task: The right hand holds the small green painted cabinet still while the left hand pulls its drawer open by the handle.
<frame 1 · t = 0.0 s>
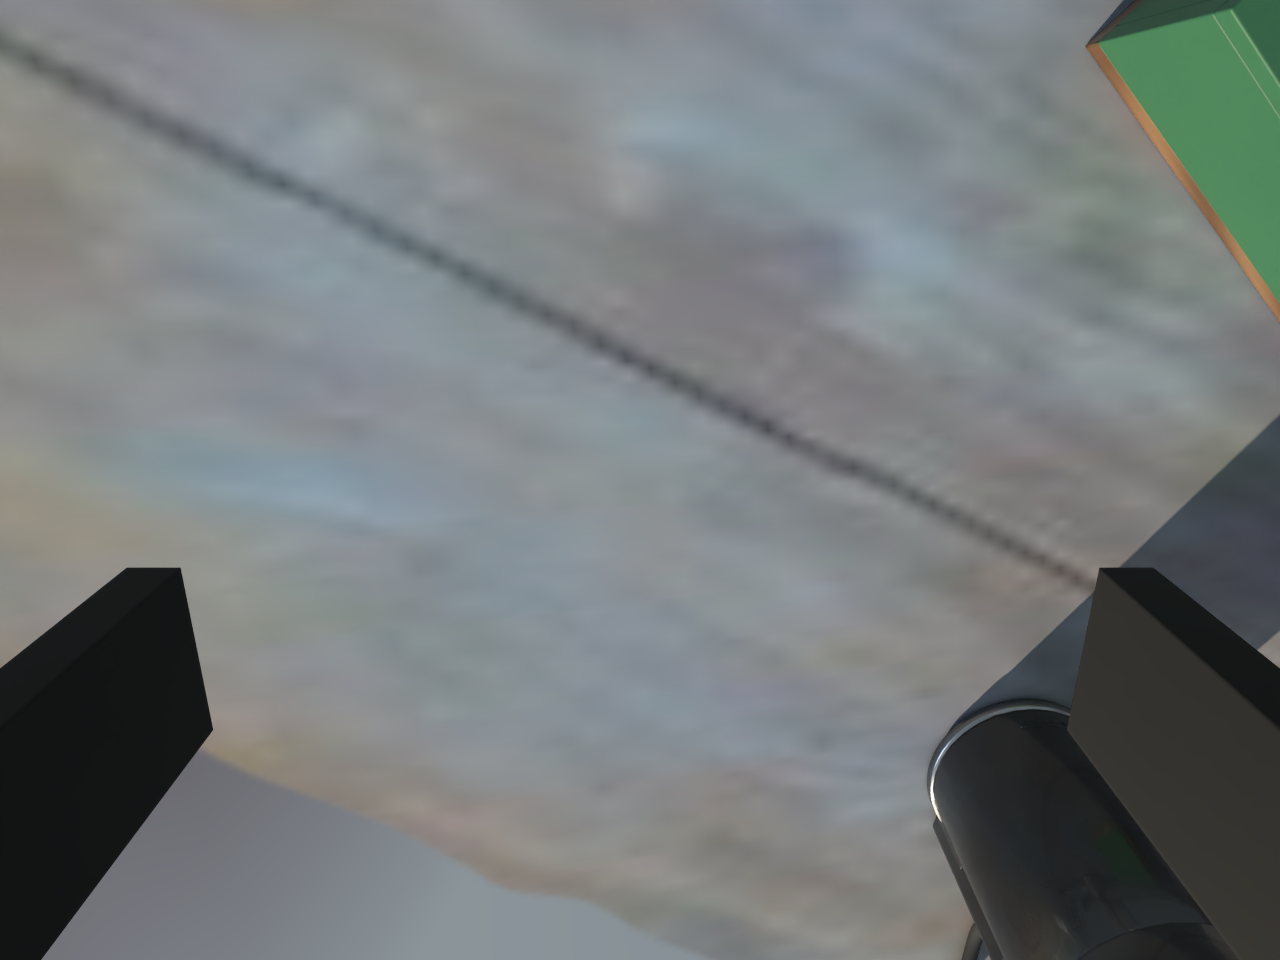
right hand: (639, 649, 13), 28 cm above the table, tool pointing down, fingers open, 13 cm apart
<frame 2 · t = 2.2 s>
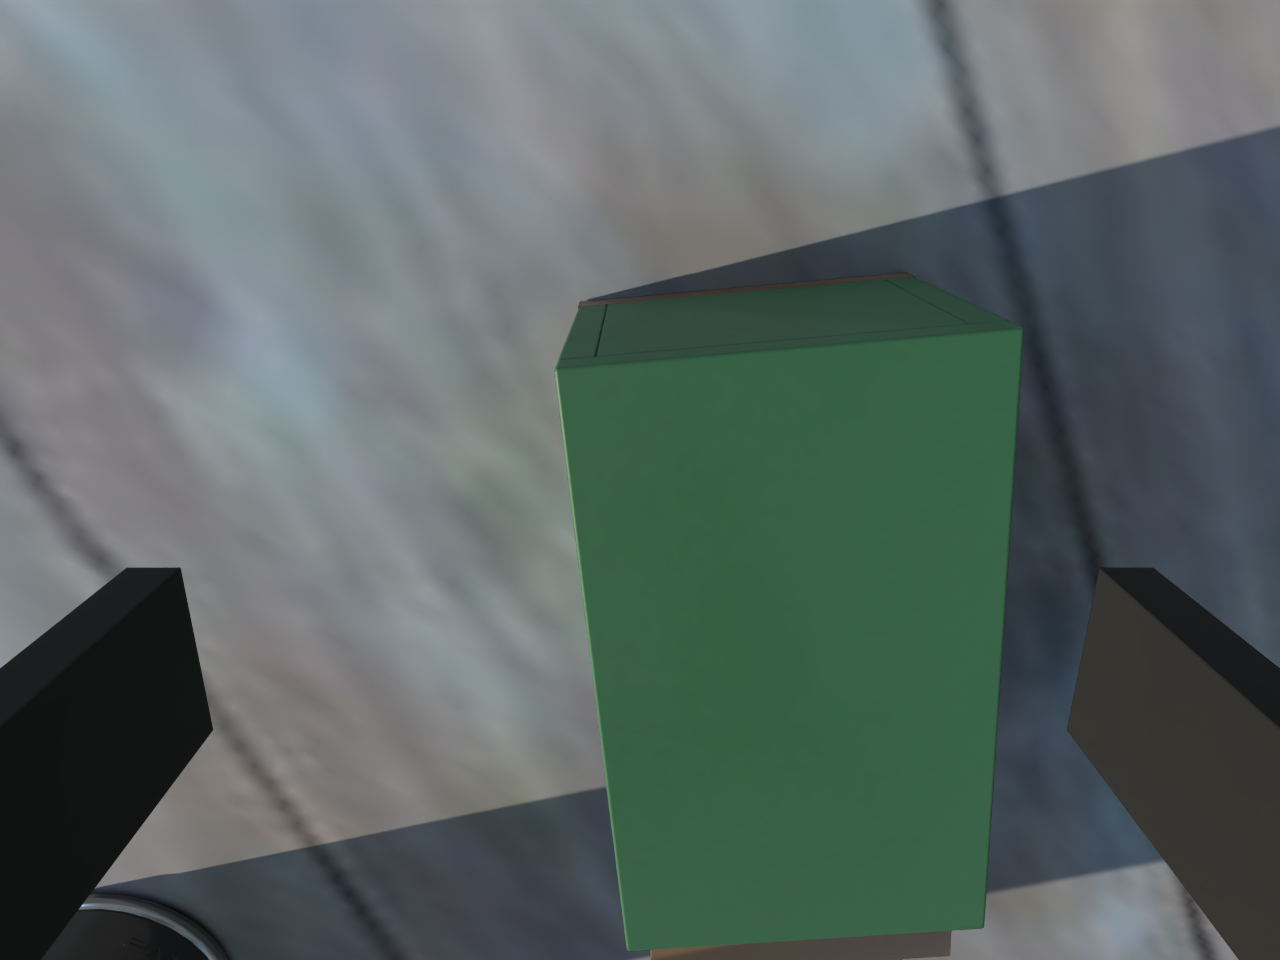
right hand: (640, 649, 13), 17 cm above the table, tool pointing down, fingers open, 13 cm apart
drawer: (778, 752, 29), point 5 cm above the table, slide at 0.9 cm
cabinet: (753, 536, 31), on the table
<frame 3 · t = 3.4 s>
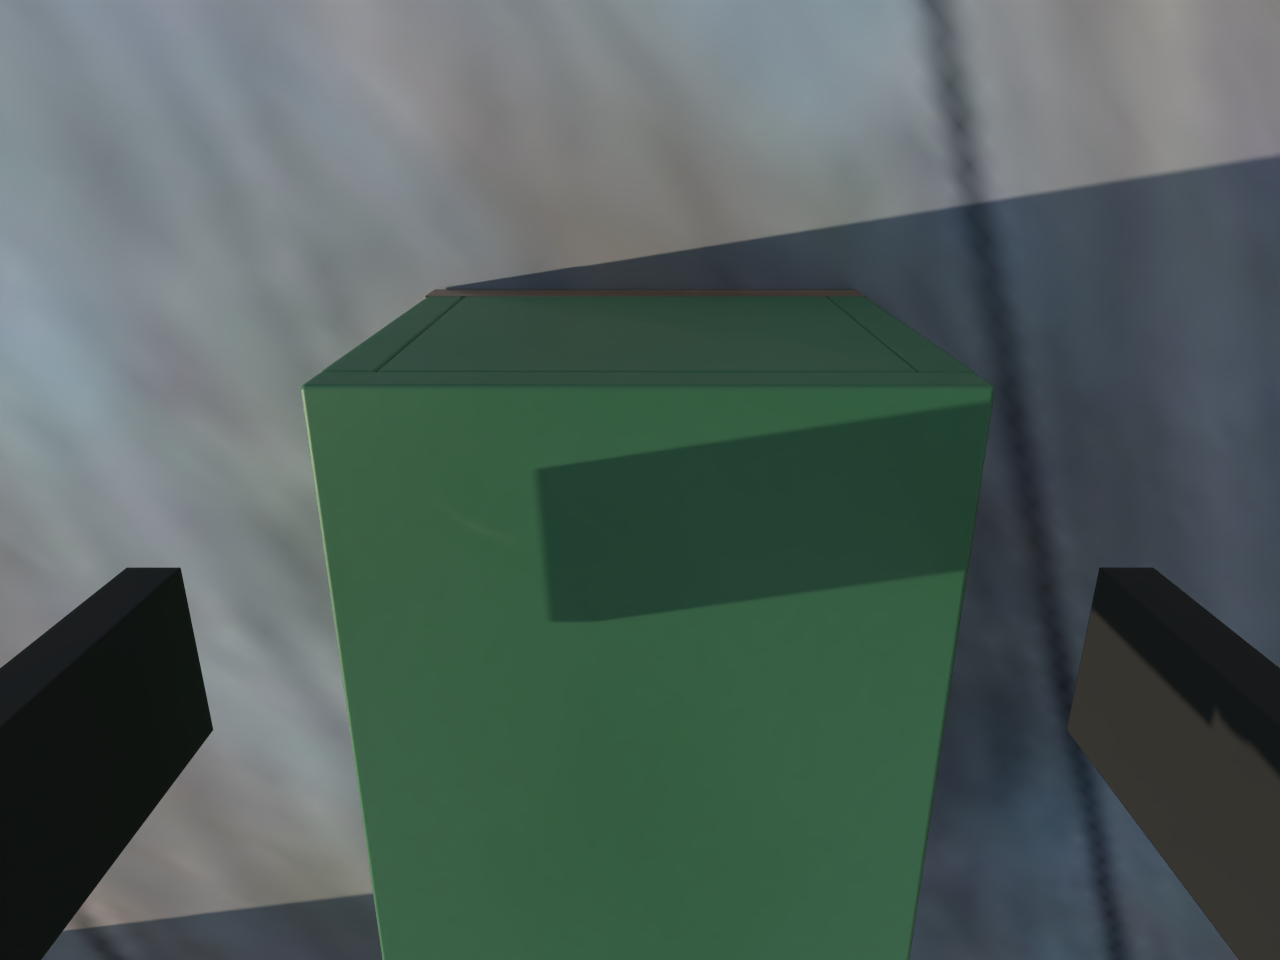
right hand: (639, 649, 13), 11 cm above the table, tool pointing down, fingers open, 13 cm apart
cabinet: (644, 603, 25), on the table
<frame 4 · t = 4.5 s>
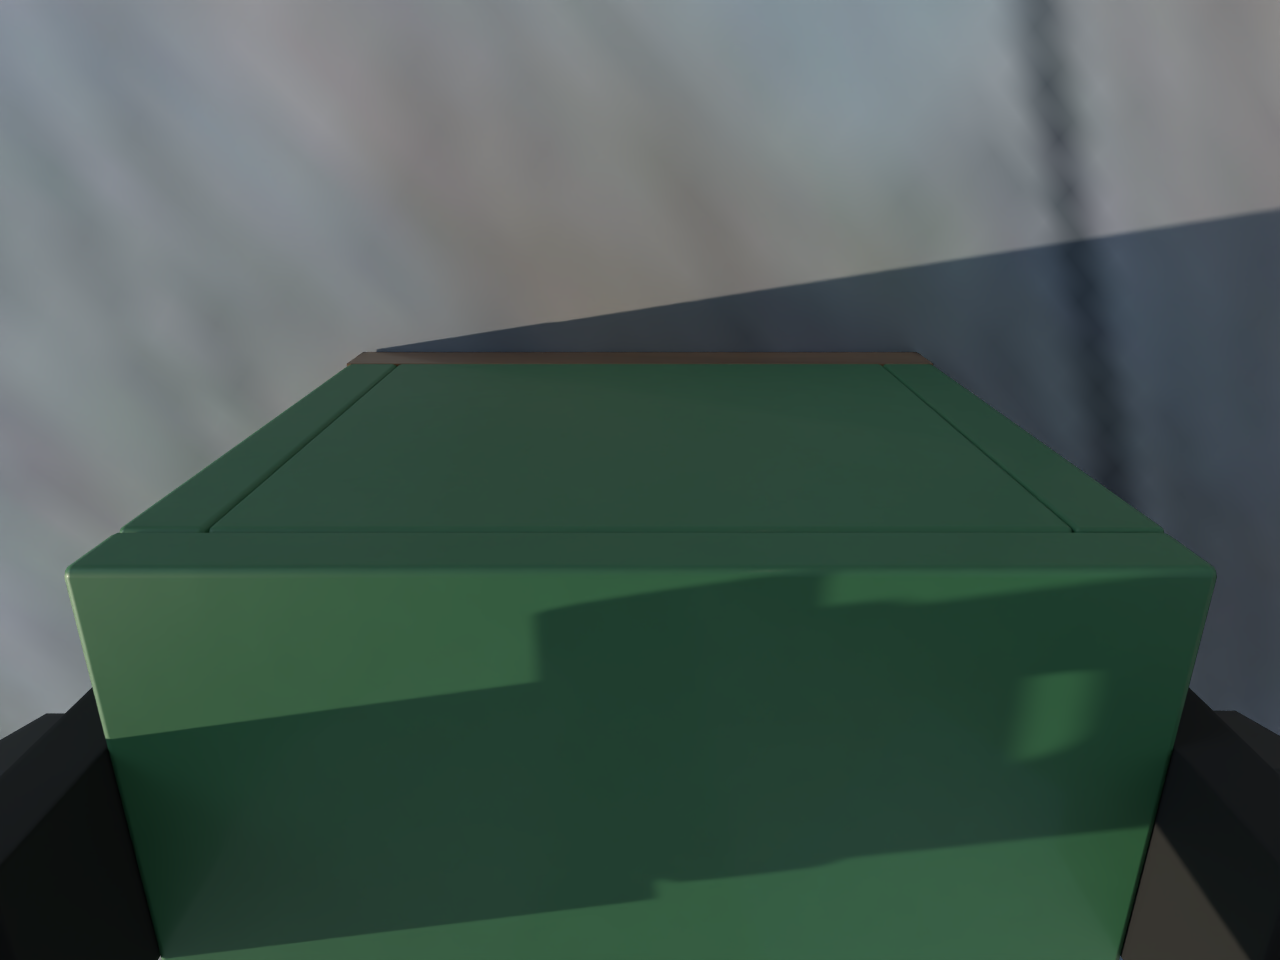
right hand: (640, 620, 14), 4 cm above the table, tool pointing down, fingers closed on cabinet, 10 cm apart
cabinet: (639, 740, 19), on the table, touching right hand
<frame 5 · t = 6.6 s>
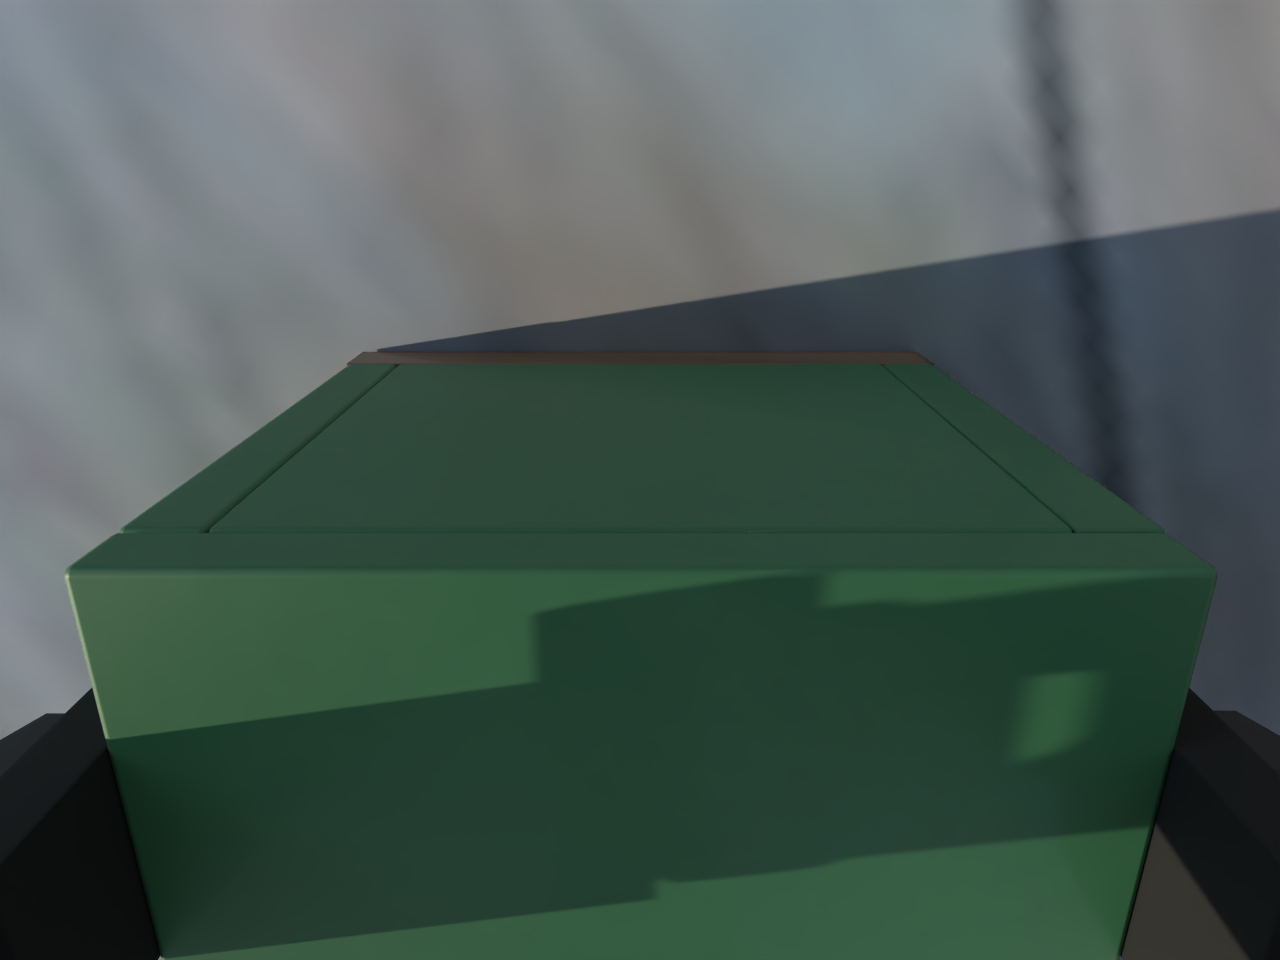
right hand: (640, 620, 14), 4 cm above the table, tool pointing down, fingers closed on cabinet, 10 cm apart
cabinet: (640, 740, 19), on the table, touching right hand
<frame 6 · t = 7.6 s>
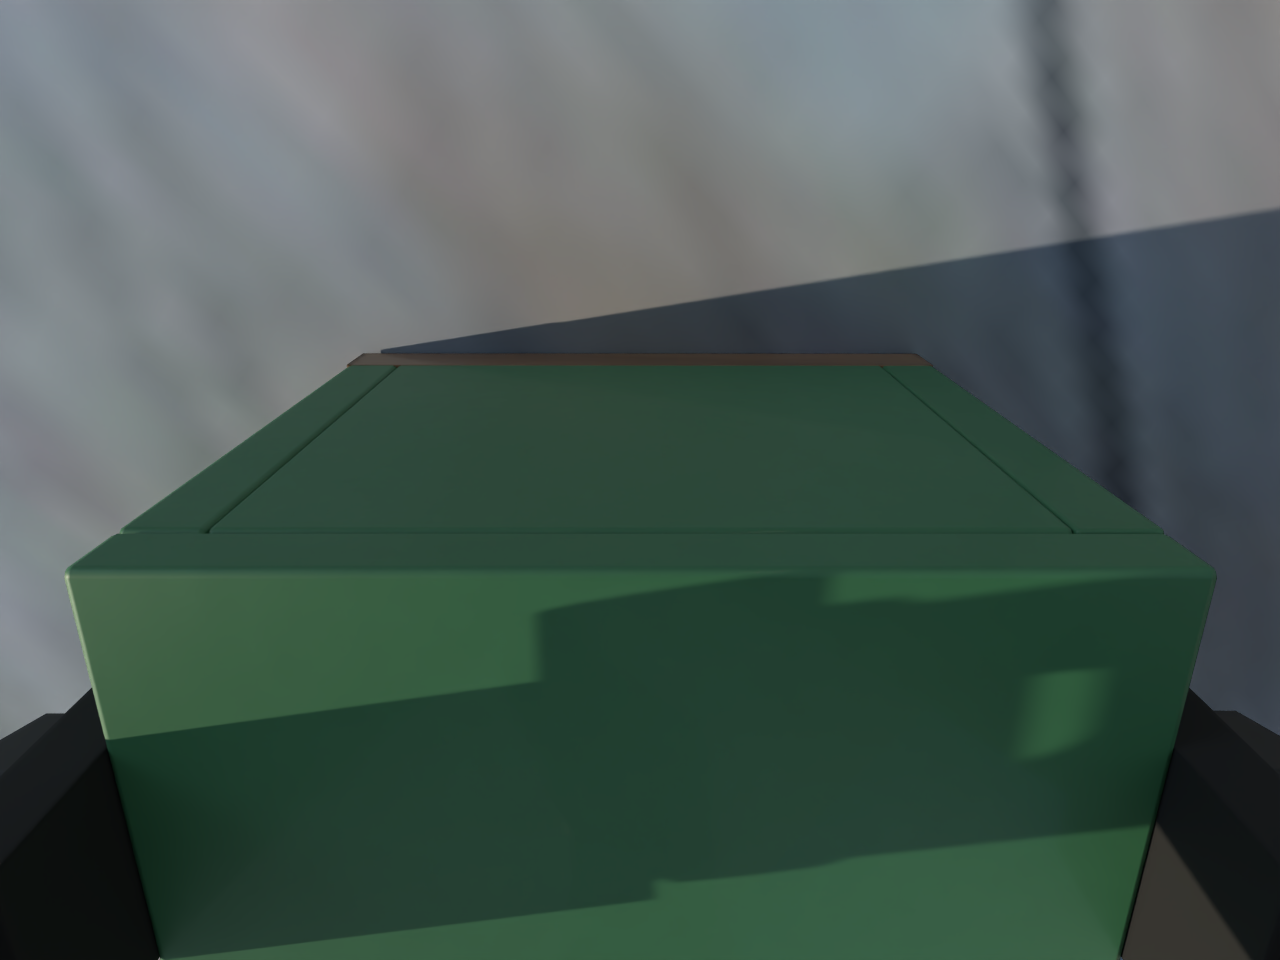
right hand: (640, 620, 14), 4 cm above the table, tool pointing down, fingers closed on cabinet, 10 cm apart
cabinet: (639, 742, 19), on the table, touching right hand
when the right hand's fingers open (4 cm above the table, at t = 9.1 s): cabinet stays where it is, on the table.
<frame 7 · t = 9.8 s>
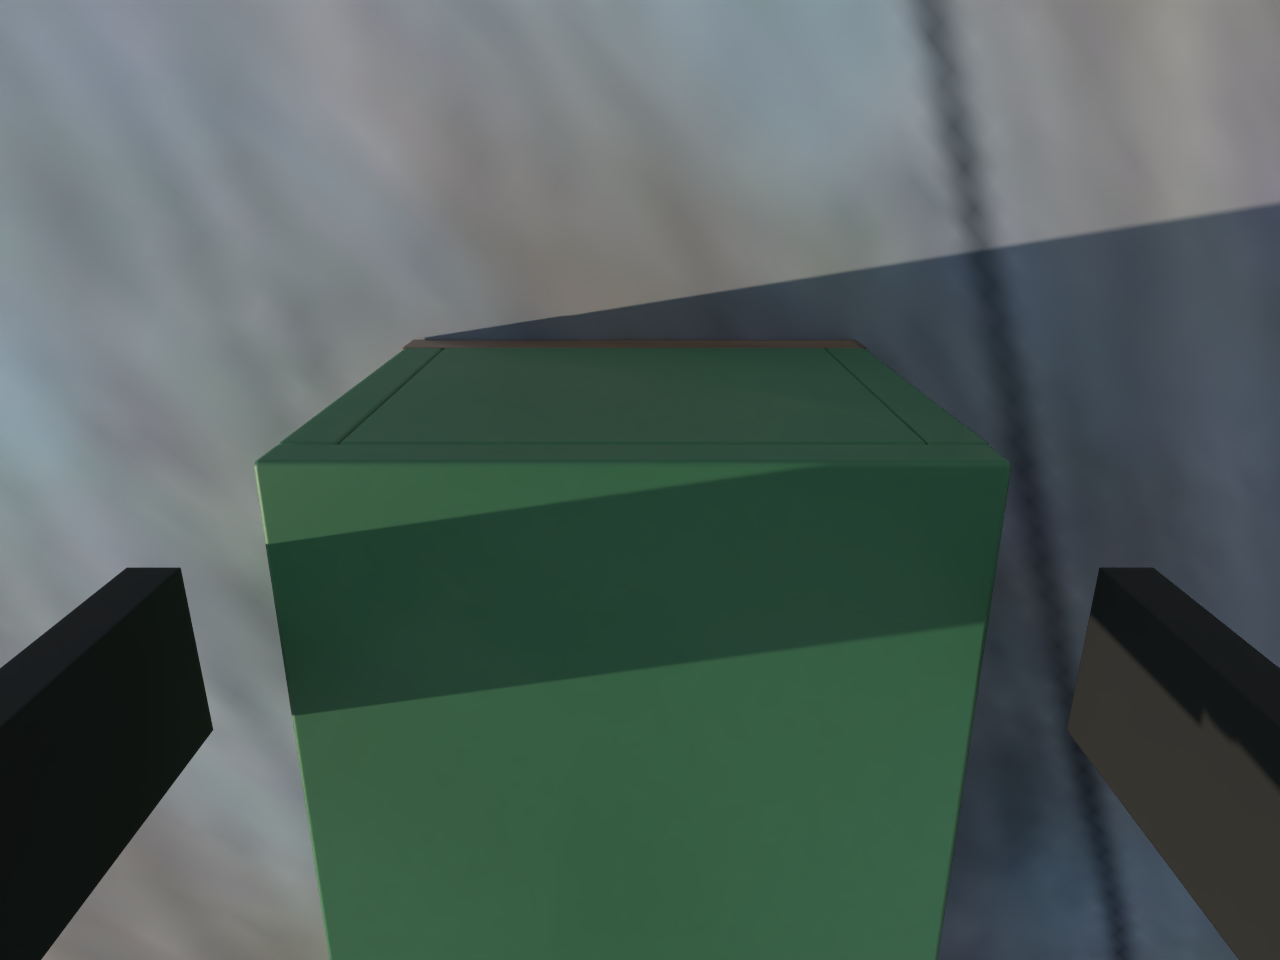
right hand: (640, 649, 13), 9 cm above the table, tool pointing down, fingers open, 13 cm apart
cabinet: (635, 665, 23), on the table
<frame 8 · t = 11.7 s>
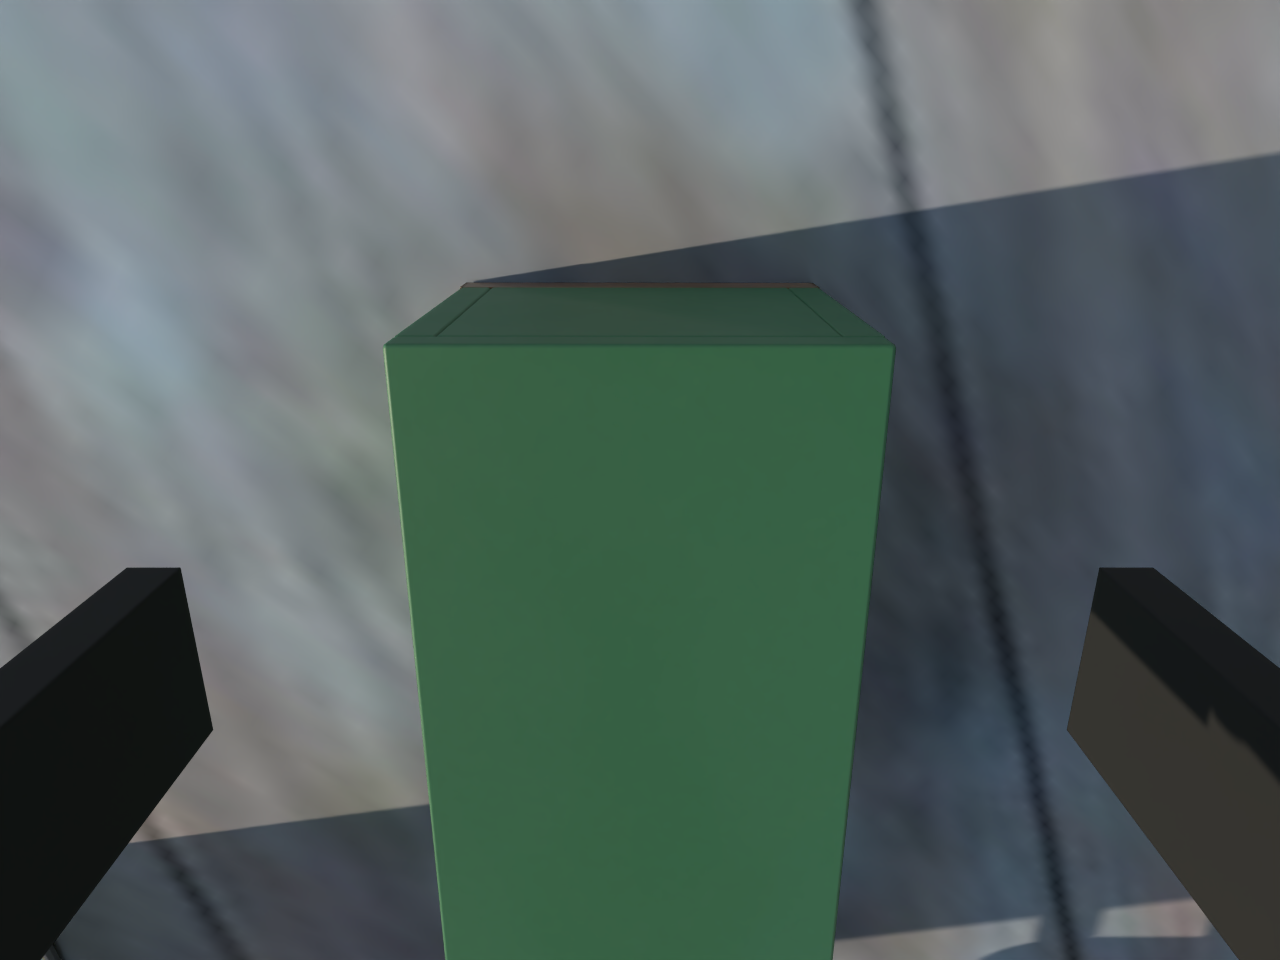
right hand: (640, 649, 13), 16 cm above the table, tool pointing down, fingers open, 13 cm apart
cabinet: (639, 548, 29), on the table
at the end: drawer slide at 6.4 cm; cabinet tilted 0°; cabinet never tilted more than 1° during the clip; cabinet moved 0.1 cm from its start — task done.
